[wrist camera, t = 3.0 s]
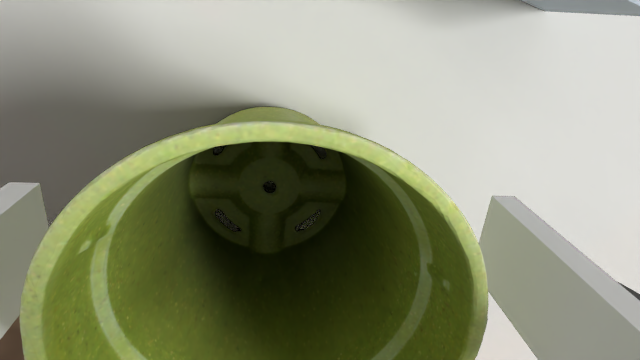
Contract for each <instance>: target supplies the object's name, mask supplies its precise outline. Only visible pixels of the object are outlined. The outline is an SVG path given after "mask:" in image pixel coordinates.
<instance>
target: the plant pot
mask: <svg viewBox="0 0 640 360" xmlns="http://www.w3.org/2000/svg"><path fill="white" fill-rule="evenodd" d="M223 145H227V146H226V147H225V148H224V149H223V151H222V153H221V154H220V155H217V156H215V155H214V154H213V148H214V147H217V146H223ZM310 145H313V146H318V147H323V148H324V149H325V151H326V154H327V155H326V157H325V159H320V158H319V156H318V154H317V153H316V152H315V151H314V149H313V148H312V147H311V146H310ZM268 181H272V182H273V183H274V184H275V185H276V190H275V191H274V192H273V193H268V192H266V191H265V190H264V188H263V185H264V183H265V182H268ZM217 209H220V210H221V211H222V212H223V213H224V214H225V215H226V216H227V218H228V219H229V220H230V221H231V222H233V223H234V225H237V226H238V227H239V228H241V231H237V232H235V231H232V230H231V229H229V228H228V227H226V226H225V225H224V224H223V223H221V222H220V221H219V220H218V218H217V217H216V214H215V211H216V210H217ZM317 210H321V211H320V215H319V217H318V218H317V220H316V221H315V222H314V223H313V224H312V225H311V226H310V227H308V228H306V229H305V230H302V231H298V232H297V231H296V230H295V227H296V226H297V225H298V224H300V223H302V222H303V221H305V220H306V219H308V218H309V217H310V216H311V215H312V214H315V213H316V211H317ZM487 313H488V284H487V274H486V268H485V263H484V259H483V255H482V252H481V248H480V246H479V244H478V241H477V239H476V236H475V234H474V233H473V231H472V229H471V227H470V225H469V223H468V222H467V220H466V218H465V217H464V215H463V214H462V212H461V211H460V210H459V208H458V207H457V206H456V205H455V203H454V202H453V201H452V200H451V198H450V197H449V196H448V195H447V194H446V193H445V192H444V191H443V189H442V188H441V187H440V186H438V185H437V184H436V183H435V182H434V181H433V180H432V179H431V178H430V177H429V176H428V175H426V174H425V173H424V172H423V171H421V170H420V169H419V168H417V167H416V166H415V165H413V164H412V163H411V162H409V161H408V160H406V159H404V158H403V157H401V156H400V155H398V154H396V153H395V152H393V151H391V150H390V149H388V148H386V147H384V146H382V145H380V144H378V143H376V142H373V141H371V140H368V139H365V138H363V137H360V136H357V135H355V134H352V133H350V132H347V131H343V130H340V129H336V128H332V127H328V126H324V125H320V124H318V123H317V122H316V121H314V120H313V119H311V118H309V117H308V116H306V115H304V114H301V113H299V112H296V111H294V110H290V109H284V108H277V107H255V108H249V109H245V110H242V111H238V112H236V113H234V114H232V115H230V116H228V117H226V118H224V119H223V120H221V121H219V122H218V123H217V124H213V125H207V126H202V127H198V128H195V129H191V130H188V131H185V132H181V133H178V134H175V135H172V136H169V137H166V138H164V139H161V140H159V141H157V142H154V143H152V144H149V145H147V146H145V147H143V148H141V149H139V150H138V151H136V152H134V153H132V154H130V155H128V156H126V157H125V158H123V159H122V160H120V161H119V162H117V163H115V164H114V165H112V166H111V167H109V168H108V169H107V170H105V171H104V172H102V173H101V174H100V175H98V176H97V177H96V178H95V179H93V180H92V181H91V182H90V183H89V184H87V185H86V186H85V187H84V188H83V189H82V190H81V191H80V192H79V193H78V194H77V195H76V196H75V197H74V198H73V199H72V200H71V201H70V202H69V203H68V204H67V205H66V206H65V207H64V209H63V210H62V211H61V212H60V213H59V215H58V216H57V217H56V218H55V220H54V221H53V223H52V224H51V225H50V227H49V228H48V230H47V231H46V233H45V235H44V237H43V238H42V240H41V242H40V243H39V245H38V247H37V249H36V251H35V253H34V255H33V258H32V260H31V263H30V266H29V269H28V272H27V275H26V279H25V282H24V286H23V290H22V295H21V304H20V331H21V338H22V347H23V354H24V360H475V358H476V356H477V354H478V351H479V348H480V346H481V343H482V340H483V335H484V332H485V329H486V324H487Z"/></svg>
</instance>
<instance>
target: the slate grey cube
mask: <svg viewBox="0 0 640 360" xmlns="http://www.w3.org/2000/svg"><path fill="white" fill-rule="evenodd" d="M521 1H523V2H525V3H527V4H530V5H532V6H534V7H537V8H539V9H541V10H543V11H550V12H570V13H590V14H610V15H630V16H640V0H521Z"/></svg>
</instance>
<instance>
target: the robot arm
mask: <svg viewBox="0 0 640 360" xmlns="http://www.w3.org/2000/svg"><path fill="white" fill-rule="evenodd" d="M48 228H49V225H48V220H47V216H46V211H45V206H44V201H43V196H42V192H41V187H40V183H21V182H9V183H7V184H6V185H4V186H3V187H2V188H0V339H1V338H2V337H3V335H4V334H5V333H6V332H7V330H8V329H9V328H10V327H11V325H12V324H13V323H14V321H15V320H16V319H17V318H18V316H19V315H20V304H21V295H22V290H23V286H24V282H25V279H26V275H27V272H28V269H29V266H30V263H31V260H32V258H33V255H34V253H35V251H36V249H37V247H38V245H39V243H40V242H41V240H42V238H43V237H44V235H45V233H46V231H47V230H48ZM479 246H480V248H481V252H482V255H483V259H484V263H485V268H486V274H487V284H488V292H489V293H490V294H491V296H492V297H493V298H494V300H495V301H496V302H497V304H498V305H499V307H500V308H501V309H502V311H503V312H504V313H505V315H506V316H507V318H508V319H509V320H510V322H511V323H512V324H513V326H514V327H515V329H516V330H517V331H518V333H519V334H520V335H521V337H522V338H523V340H524V341H525V342H526V344H527V345H528V346H529V348H530V349H531V351H532V352H533V353H534V355H535V356H536V357H537V359H538V360H640V294H638V293H637V292H635V291H633V290H631V289H629V288H628V287H626V286H624V285H622V284H621V283H619V282H617V281H615V280H614V279H613V278H612V277H611V276H609V275H608V274H607V273H606V272H605V271H603V270H602V269H601V268H600V267H599V266H597V265H596V264H595V263H594V262H593V261H591V260H590V259H589V258H588V257H587V256H585V255H584V254H583V253H582V252H581V251H579V250H578V249H577V248H576V247H575V246H573V245H572V244H571V243H570V242H569V241H567V240H566V239H565V238H564V237H563V236H561V235H560V234H559V233H558V232H557V231H556V230H554V229H553V228H552V227H551V226H550V225H548V224H547V223H546V222H545V221H544V220H542V219H541V218H540V217H539V216H538V215H536V214H535V213H534V212H533V211H532V210H530V209H529V208H528V207H527V206H526V205H524V204H523V203H522V202H521V201H520V200H518V199H517V198H516V197H515V196H492V197H491V201H490V204H489V208H488V212H487V215H486V219H485V223H484V226H483V230H482V234H481V237H480V241H479Z"/></svg>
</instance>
